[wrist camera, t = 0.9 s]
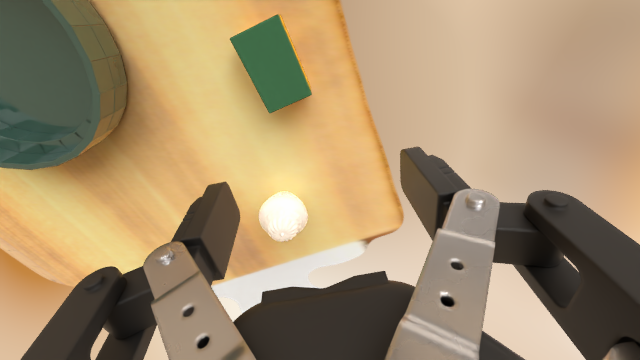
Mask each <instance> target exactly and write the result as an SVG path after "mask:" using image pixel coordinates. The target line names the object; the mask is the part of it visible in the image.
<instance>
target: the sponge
mask: <svg viewBox="0 0 640 360" xmlns="http://www.w3.org/2000/svg"><path fill="white" fill-rule="evenodd" d="M230 40H231V42H232V44H233V46H234V48H235V50H236V52H237V53H238V55H239V57H240V59H241V61H242V63H243V65H244V67H245V68H246V70H247V72H248V74H249V76H250V78H251V80H252V82H253V83H254V85H255V87H256V89H257V91H258V93H259V95H260V97H261V99H262V100H263V102H264V104H265V106H266V108H267V110H268V112H269V113H272V112H274V111H276V110H279V109H281V108H283V107H285V106H288V105H290V104H292V103H294V102H297V101H299V100H301V99H303V98H306V97H308V96H310V95H312V93H311V88H310V84H309V81H308V79H307V77H306V74H305V72H304V69H303V67H302V65H301V62H300V60H299V57H298V55H297V53H296V50H295V48H294V46H293V43H292V41H291V38H290V36H289V34H288V31H287V29H286V26H285V24H284V22H283V19H282V17H281V15H275V16H273V17H271V18H269V19H267V20H265V21H263V22H261V23H259V24H257V25H255V26H253V27H251V28H249V29H247V30H245V31H243V32H241V33H239V34H237V35H235V36H233V37H231V38H230Z"/></svg>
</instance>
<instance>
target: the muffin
mask: <svg viewBox="0 0 640 360" xmlns="http://www.w3.org/2000/svg"><path fill="white" fill-rule="evenodd" d="M307 221H308V213H307V210H306V208H305V206H304V204H303V203H302V201H301V200H300V199H299V198H298V197H297V196H295V195H294V194H292V193H291V192H289V191H288V192H287V191H281V192H278V193H276V194H274V195H273V196H271V197H270V198H269V199H267V201H265V203H264V204H263V205H262V206H261V208H260V211H259V222H260V225H261V226H262V228H263V229H264V230H265V231H266V232H267V233H268V234H269V235H270V236H271V238H272V239H274V240H276V241H281V242H283V241H288V240H292V238H293V237H295V236H296V234H297V233H299V232H301V231H302V230H303V229H304V227H305V226H306V224H307Z"/></svg>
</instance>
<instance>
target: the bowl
mask: <svg viewBox="0 0 640 360" xmlns="http://www.w3.org/2000/svg"><path fill="white" fill-rule="evenodd" d="M126 96H127V79H126V75H125V71H124V66H123V62H122V58H121V55H120V52H119V50H118V48H117V46H116V44H115V42H114V40H113V38H112V36H111V34H110V32H109V30H108V28H107V26H106V24H105V22H104V21H103V20H102V18H101V17H100V16H99V14H98V13H97V11H96V10H95V9H94V7H93V6H92V5H91V3H90V2H89V1H88V0H0V167H2V168H13V169H27V170H33V169H40V168H47V167H53V166H58V165H60V164H63V163H65V162H67V161H69V160H71V159H73V158H75V157H77V156H79V155H80V154H82V153H84V152H85V151H87V150H88V149H90V148H91V147H93V146H94V145H96V144H97V143H99V142H100V141H102V140H103V139H105V138H106V137H107V136H108V135H109V134H110V133H111V132H112V131H113V130H114V129H115V128H116V127H117V126H118V124H119V122H120V119H121V117H122V114H123V112H124V110H125V107H126Z"/></svg>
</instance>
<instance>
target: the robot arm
mask: <svg viewBox="0 0 640 360" xmlns="http://www.w3.org/2000/svg"><path fill="white" fill-rule="evenodd" d="M400 169H401V170H400V172H401V185H402V189H403V192H404V193H405V195H406V197H407V198H408V200H409V201H410V203H411V205H412V207H413V208H414V210H415V212H416V213H417V215H418V217H419V218H420V220H421V222H422V223H423V225H424V227H425V229H426V230H427V232H428V234H429V235H430V237H431V239H432V240H433V242H432V245H431V248H430V250H429V253H428V256H427V258H426V261H425V264H424V266H423V269H422V272H421V274H420V277H419V279H418V282H417V285H416V287H414V286H412V285H409V284H406V283H402V282H397V281H390V280H388V278H387V276H386V273H385V271H381V272H375V273H370V274H364V275H357V276H353V277H351V278H349V279H346V280H344V281H342V282H339V283H337V284H334V285H332V286H330V287H327V288H323V289H320V288H304V287H288V288H282V289H276V290H270V291H265V292H263V293H262V301H261V303H259V304H257V305H255V306H253V307H251V308H250V309H248V310H247V311H245V312H244V313H243V314H242V315H240V316H239V317H238V318H237V319H236V320H235V321H234V322H232V320H231V319H230V317H229V315H228V314H227V312H226V311H225V309H224V307H223V306H222V304H221V303H220V301H219V299H218V298H217V296H216V295H215V293H214V291H213V290H212V288H211V285H212V281H215V280H220V279H224V277H225V273H226V270H227V266H228V262H229V259H230V255H231V251H232V248H233V244H234V240H235V237H236V233H237V230H238V226H239V222H240V212H239V208H238V206H237V204H236V201H235V199H234V197H233V194H232V192H231V190H230V187H229V185H228V184H227V183H226V182H222V183H217V184H211V185H208V187H207V188H206V190H205V192H204V194H203V196H202V197H199V198H198V199H197V200H196V201H195V202H194V203H193V204H192V205H191V206H190V208H189V210H188V212H187V215H185V217H184V219H183V222H181V224H180V226H179V228H178V230H177V231H176V233H175V235H174V237H173V239H172V241H171V242H170V243H167V244H164V245H162V246H160V247H159V248H157V249H156V250H154V251H153V252H152V253H151V254H150V255H149V256H148V257H147V258H146V260H145V262H144V265H143V266H142V267H140V268H137V269H135V270H132V271H130V272H127V273H125V274H123V275H122V273H121V272H120V271H119V270H118V269H117V268H116V267H105V268H102V269H99V270H97V271H95V272H93V273H91V274H90V275H88V276H87V277H85V278H84V279H83V280H82V281H80V282H79V283H78V284H77V285H76V287H75V288H74V289H73V290H72V292H71V293H70V294H69V296H68V297H67V298H66V300H65V301H64V303H63V304H62V305H61V306H60V308H59V309H58V310H57V312H56V313H55V315H54V316H53V317H52V319H51V320H50V321H49V322H48V324H47V325H46V327H45V328H44V329H43V330H42V332H41V333H40V335H39V336H38V337H37V338H36V340H35V341H34V342H33V344H32V345H31V347H30V348H29V349H28V351H27V352H26V353H25V354H24V356H23V357H22V359H21V360H91V359H90V353H91V348H92V346H93V344H94V342H95V340H96V338H97V337H98V335H99V333H100V331H101V330H102V328H104V329H105V330H106V331H108V332H109V335H108V337H107V339H106V341H105V342H104V344H103V346H102V348H101V350H100V352H99V354H98V356H97V358H96V360H143V359H144V356H145V354H146V351H147V349H148V346H149V344H150V341H151V339H152V336H153V334H154V331H155V329H156V326H157V325H158V328H159V331H160V334H161V337H162V340H163V343H164V346H165V349H166V352H167V355H168V358H169V360H525V359H523V358H522V357H520V356H519V355H517V354H516V353H515V352H513V351H512V350H510V349H509V348H507V347H506V346H504V345H503V344H501V343H500V342H498V341H497V340H495V339H494V338H492V337H491V336H489V335H488V334H486V333H485V332H483V331H482V328H483V321H484V315H485V314H484V313H485V308H486V301H487V295H488V288H489V282H490V275H491V269H492V262H494V263H505V264H513V265H514V267H515V268H516V269H517V271H518V272H519V273H520V275H521V276H522V277H523V278H524V280H525V281H526V282H527V283H528V285H529V286H530V288H531V289H532V290H533V291H534V293H535V294H536V295H537V297H538V298H539V299H540V300H541V302H542V303H543V304H544V306H545V307H546V308H547V310H548V311H549V312H550V314H551V315H552V316H553V317H554V318H555V320H556V321H557V323H558V324H559V325H560V326H561V328H562V329H563V330H564V331H565V333H566V334H567V336H568V337H569V338H570V339H571V341H572V342H573V343H574V345H575V346H576V347H577V349H578V350H579V351H580V352H581V354H582V355H583V356H584V358H585V359H586V360H640V245H639V244H638V243H636V242H635V241H634V240H632V239H631V238H630V237H628V236H627V235H625V234H624V233H623V232H621V231H620V230H619V229H617V228H616V227H615V226H613V225H612V224H610V223H609V222H608V221H606V220H605V219H604V218H602V217H601V216H599V215H598V214H596V213H595V212H594V211H593V210H591V209H590V208H588V207H587V206H586V205H584V204H583V203H582V202H580V201H579V200H577V199H576V198H574V197H572V196H570V195H567V194H564V193H561V192H556V191H548V190H543V191H536V192H533V193H531V194H530V195H529V196H528V199H527V202H526V203H503V202H499V200H498V199H497V198H496V197H495V196H494V195H492V194H490V193H488V192H486V191H483V190H478V189H471V188H470V187H469V186H468V185H467V184H466V183H465V182H464V181H463V180H462V179H461V178H460V177H459V176H458V175H457V174H456V173H454V171H453V170H452V169H451V168H450V167H449V165H447V163H445V161H444V160H442V159H440V158H438V157H436V156H433V155H430V156H427V155H426V154H425V152H424V151H423V150H422V149H421V148H420V147H414V148H408V149H403V150H401V153H400ZM564 255H565V256H566V257H567V258H568V259H569V260H570V261H571V262H572V263H573V264H574V265H575V266H576V268H577V269H578V271H579V272H578V271H577V270H576V269H575V268H574V267H573V266H572V265H571V264H570V263H569V262H568V261H567V260H566V259H565V258H564Z"/></svg>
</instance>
